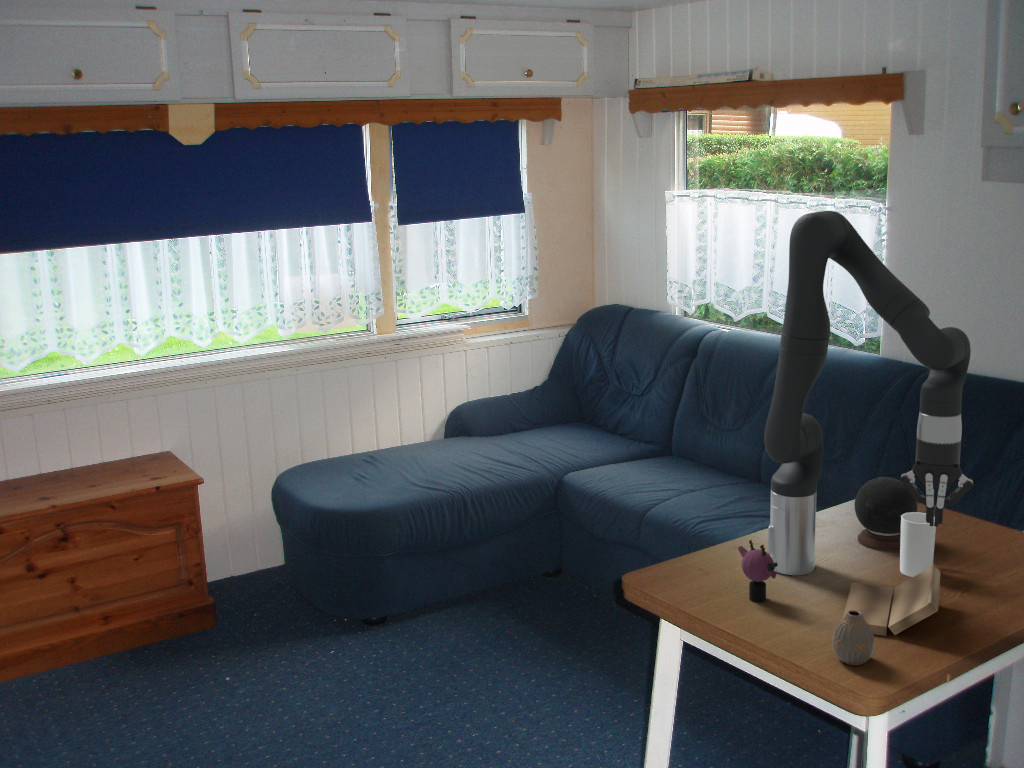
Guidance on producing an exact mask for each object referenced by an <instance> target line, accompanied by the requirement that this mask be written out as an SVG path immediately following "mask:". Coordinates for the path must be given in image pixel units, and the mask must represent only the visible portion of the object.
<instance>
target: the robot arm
mask: <svg viewBox="0 0 1024 768" xmlns="http://www.w3.org/2000/svg"><path fill="white" fill-rule="evenodd" d="M788 247H789V248H788V249H789V250H788V251H789V252H788V254H789V255H788V279H787V280H788V283H787V290H786V291H787V292H786V299H785V306H784V318H783V321H782V322H783V323H782V328H781V336H780V343H779V351H778V352H779V353H778V354H779V355H778V363H777V369H776V376H775V380H774V381H775V382H774V388H773V395H772V399H771V404H770V408H769V411H768V415H767V419H766V423H765V428H764V435H763V436H764V437H763V442H764V443H763V444H764V448H765V450H766V452H767V453H766V454H767V455H768V457H769V458H770V459H771V460H772V461H774V462H775V463H778V464H781V465H780V466H779V468H778V469H777V470H776V471H775V472H774V473H773V474H772V476H771V479H770V516H769V517H770V519H769V522H770V523H769V525H768V527H767V553H768V554H769V555H772V560H773V562H774V563H776V562H777V565H778V566H776V567H775V569H774V571H775V572H777V573H778V574H782V575H790V576H803V575H804V576H805V575H808V574H810V573H812V572H813V571H814V570H815V562H816V561H815V559H816V557H815V555H816V553H815V552H816V524H817V523H816V520H817V516H816V515H817V489H818V488H817V487H818V483H819V482H820V478H821V476H822V465H823V455H824V435H823V434H824V433H823V429H822V427H821V425H820V423H819V421H818V420H817V419H816V418H815V417H814V416H813V415H811V414H809V413H804V409H805V404H806V401H807V398H808V396H809V393H810V392H811V390H812V388H813V386H814V385H815V382H816V381H817V379H818V378H819V376H820V373H821V372H822V370H823V368H824V365H825V362H826V361H827V355H828V351H829V342H830V336H831V320H830V315H829V312H828V311H829V310H828V308H827V307H828V306H827V303H826V301H825V296H824V294H825V293H824V281H825V276H826V270H827V265H828V260H829V259H830V260H832V261H833V262H834V263H836V264H838V265H839V266H840V267H842V268H844V270H845V271H846V272H848V274H849V275H850V276H851V277H852V278H853V279H854V281H855V282H856V284H857V285H858V286H859V289H860V291H861V292H862V294H863V296H864V299H865V300H866V301H867V303H868V304H869V306H870V307H871V308H872V309H873V310H874V312H875V313H876V314H877V315H878V316H879V317H880V318H881V319H883V321H884V322H885V323H887V324H888V325H889V326H890V327H891V328H892V329H893V330H895V332H897V333H898V335H899V336H900V338H901V340H902V341H903V343H904V345H905V346H906V348H907V349H908V350H909V352H910V353H911V354H912V356H913V357H914V358H915V359H916V360H917V362H918V363H919V364H921V365H923V366H924V367H925V368H927V369H929V373H928V376H927V379H926V380H925V381H924V382H923V383H922V385H921V388H920V395H919V413H918V414H919V415H918V417H917V425H916V426H917V428H916V447H915V448H916V449H915V463H913V465H912V469H911V470H910V471H907V472H903V473H902V474H901V476H900V481H901V482H902V483H903V484H904V486H905V487H906V488H907V490H908V491H909V492H910V493H911V495H912V496H913V497H914V499H915V500H916V501H917V504H921V505H923V506H925V507H926V510H925V513H926V522H927V523H930V526H934V527H936V528H937V527H939V525H942V524H943V519H944V518H943V517H944V508H946V507H953V506H955V505H956V504H957V502H958V501H960V500H961V499H962V498H963V497H964V496H965V495H966V494H967V493H968V492H969V491H970V490H972V489H973V486H974V481H973V479H972V478H969V477H967V476H966V475H965V474H964V473H963V469H962V468H961V465H960V463H961V445H962V434H963V432H962V429H963V426H962V425H963V424H962V423H963V422H962V407H963V406H962V404H963V403H962V401H963V387H964V385H965V384H964V383H965V381H966V378H967V373H968V370H969V364H970V361H971V351H972V350H971V349H972V348H971V342H970V340H969V337H968V336H967V334H966V333H965V332H964V330H962V329H960V328H959V327H954V326H948V327H944V328H939V327H938V326H937V325H936V324H935V323H934V321H933V320H932V319H931V318H930V315H931V313H930V312H931V311H930V308H929V307H928V306H927V304H926V303H924V301H922V299H920V298H919V297H918V296H917V295H916V294H915V293H914V292H913V291H912V290H911V289H910V288H908V287H907V286H906V284H904V283H903V282H902V281H901V280H900V279H899V278H898V277H897V276H895V274H894V273H893V272H892V271H890V269H889V268H888V267H887V266H886V265H885V264H884V263H883V261H881V259H880V258H879V257H878V256H877V255H876V253H874V251H873V250H872V248H870V246H869V245H868V243H866V242H865V239H863V238H862V236H861V234H860V233H859V232H858V231H857V229H856V228H855V227H854V226H853V225H852V224H851V222H850V221H849V220H848V219H847V218H846V217H845V215H843V214H842V213H839V212H838V211H834V210H823V211H814V212H810V213H805V214H803V215H802V216H800V217H799V218H797V220H796V221H795V222H794V224H793V226H792V227H791V231H790V236H789V246H788ZM915 477H916V478H915ZM916 479H917V480H918V482H919V483H920V485H921V486H922V487H923V488H925V495H924V493H923V492H922V491H921V490H920V489H919V488H918V486H917V485H916V483H915V481H916ZM957 481H958V484H957V486H958V487H956V488H955V490H954V491H953V492H952V493H951V494H949V496H947V497H946V492H947V490H949V489H951V487H953V485H954V484H955V483H956V482H957ZM935 490H938V493H937V499H936V504H935V494H934V492H935ZM934 517H935V519H934Z"/></svg>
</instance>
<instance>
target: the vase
mask: <svg viewBox="0 0 1024 768" xmlns="http://www.w3.org/2000/svg"><path fill="white" fill-rule="evenodd" d="M831 639H832V640H831V641H832V647H833V651H834V653H835V655H836V657H837V658H838V659H839V660H841V662H842V663H845V664H847V665H850V666H851V665H852V666H861V665H863V664H864V663H866V662H868V661H869V660H870V658H871V657H872V655H873V653H874V649H875V645H876V644H875V634H873V631H872V629H871V627H870V626H869V624H868V623H867V622H866V621H865V619H864V618H863V616H862V614H861V612H859V611H856V610H850V611H848V612H847V613H846V615H845V617H844V618H843V617H842V618H841V619H840V620H839V621H838V622H837V623H836V625H835V627H834V629H833V632H832V638H831Z"/></svg>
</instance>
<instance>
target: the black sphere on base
mask: <svg viewBox="0 0 1024 768" xmlns="http://www.w3.org/2000/svg"><path fill="white" fill-rule="evenodd" d="M854 511H855V512H854V513H855V515H856V518H857V520H858V522H859V523H860V524H861V525H862V526H863V528H864V529H862V531H860V533H859V534H858V535H857V542H858V543H859V545H861V546H863V547H865V548H868V549H871V550H874V551H879V552H900V539H901V516H902V515H903V514H905V513H910V512H918V502H917V501H916V500H915V499H914V497H913V496H912V495H911V493H910V492H909V491H908V490H907V488H906V487H905V486H904V484H903V483H902V482H901V479H897V478H894V477H891V476H890V477H889V476H879V477H875V478H873V479H870V480H867V482H865V483H864V484H863V485H861V487H860V488H859V490H858V491H857V492H856V496H855V498H854Z"/></svg>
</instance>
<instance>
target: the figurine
mask: <svg viewBox="0 0 1024 768" xmlns="http://www.w3.org/2000/svg"><path fill="white" fill-rule="evenodd" d="M748 544H750V545H749V547H750V550H749V551H748V550H747V549H746V548H745V547H743V545H741V546H738V547H737V550H738V552H739V555H741V557H742V560H741V570H742V571H743V574H744V575H745V576H746V578H747V579H748V580H751V581H749V584H748V585H749V586H748V587H749V588H748V589H749V591H748V593H749V594H748V599H749V600H750V602H753V601H754V602H753V603H764V602H765V601H767V583H766V582H765V581H767V580H768V579H769V578H772V579H774V580H775V579H776V576H777V574H778V572H776V571H774V569H775V567H776V566H778V565H777V562H776V563H774V562H773V560H772V555H769V554H768V551H766V548H765V544H762V545H760V546H759V548H760V549H759V548H758V549H757V548H755V547H754V545H753V544H754V543H753V540H752V539H749V541H748Z"/></svg>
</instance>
